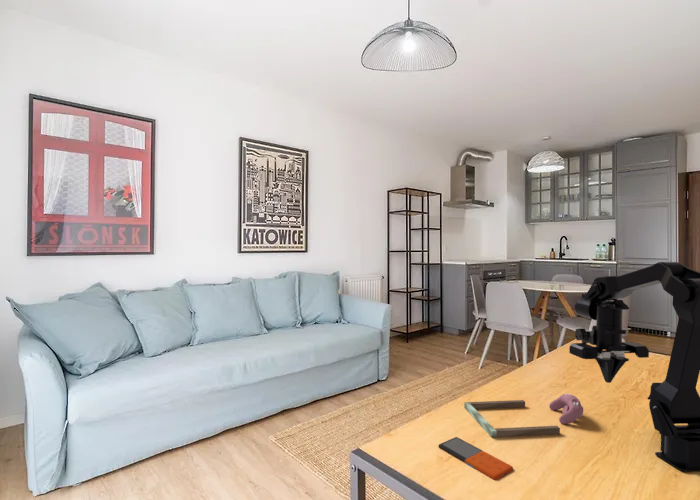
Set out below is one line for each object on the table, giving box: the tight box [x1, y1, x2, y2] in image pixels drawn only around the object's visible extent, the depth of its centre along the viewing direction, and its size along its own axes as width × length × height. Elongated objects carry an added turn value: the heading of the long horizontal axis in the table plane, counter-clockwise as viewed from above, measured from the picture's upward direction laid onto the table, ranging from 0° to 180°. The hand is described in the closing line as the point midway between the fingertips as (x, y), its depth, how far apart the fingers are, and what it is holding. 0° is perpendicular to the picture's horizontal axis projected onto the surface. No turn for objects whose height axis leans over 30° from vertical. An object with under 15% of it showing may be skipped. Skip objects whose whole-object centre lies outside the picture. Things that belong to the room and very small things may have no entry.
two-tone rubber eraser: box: [438, 436, 514, 481], centre depth 84 cm, size 6×1×15 cm
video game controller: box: [548, 392, 584, 425], centre depth 103 cm, size 10×5×7 cm, turn 169°
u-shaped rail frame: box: [463, 399, 561, 438], centre depth 101 cm, size 16×17×2 cm
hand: (607, 382), depth 104 cm, fingers closed
